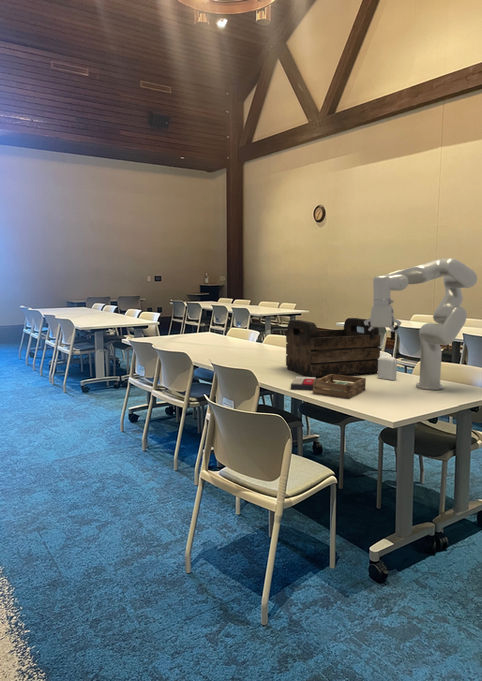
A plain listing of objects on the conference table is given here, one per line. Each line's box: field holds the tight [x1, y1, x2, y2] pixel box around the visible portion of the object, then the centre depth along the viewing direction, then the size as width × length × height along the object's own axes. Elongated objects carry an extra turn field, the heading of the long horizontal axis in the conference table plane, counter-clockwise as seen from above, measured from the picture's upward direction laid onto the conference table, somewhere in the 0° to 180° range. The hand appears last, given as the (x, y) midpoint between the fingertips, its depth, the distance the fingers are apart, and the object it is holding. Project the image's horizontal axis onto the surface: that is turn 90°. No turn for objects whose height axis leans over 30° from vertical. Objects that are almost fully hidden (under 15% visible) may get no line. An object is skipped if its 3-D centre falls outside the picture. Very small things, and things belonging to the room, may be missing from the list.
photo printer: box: [377, 355, 398, 381], centre depth 255 cm, size 10×4×12 cm, turn 39°
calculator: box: [290, 376, 318, 392], centre depth 238 cm, size 11×4×15 cm
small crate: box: [330, 380, 350, 392], centre depth 226 cm, size 10×5×3 cm, turn 145°
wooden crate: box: [285, 317, 382, 379], centre depth 276 cm, size 42×34×30 cm
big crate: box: [312, 374, 367, 400], centre depth 226 cm, size 20×18×6 cm
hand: (382, 339), depth 222 cm, fingers open, 9 cm apart
